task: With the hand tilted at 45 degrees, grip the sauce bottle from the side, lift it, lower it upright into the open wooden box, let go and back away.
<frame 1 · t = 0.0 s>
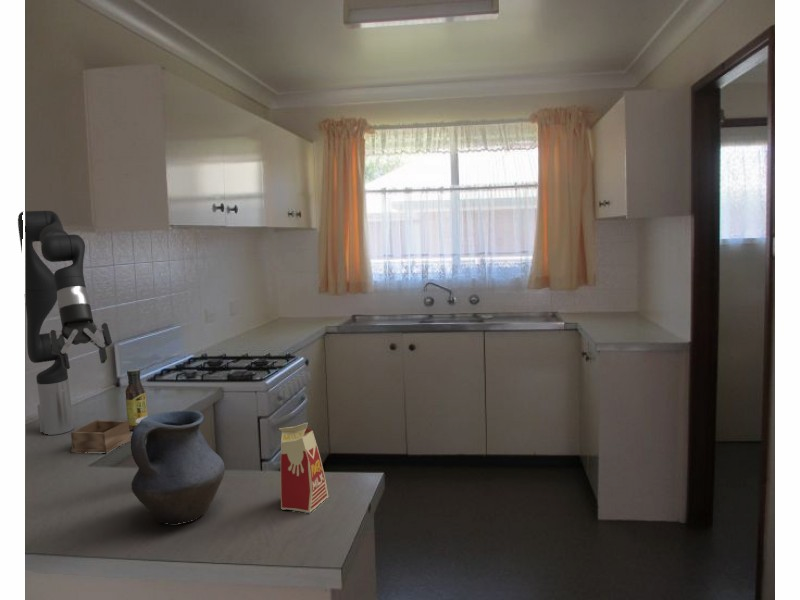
hand: (85, 365, 170), 31 cm above the worktop, tool tilted 20°, fingers open, 8 cm apart
pitcher: (181, 517, 151), on the worktop
sauce bottle: (138, 428, 218), on the worktop
chalice: (157, 487, 169), on the worktop
open wooden box: (102, 446, 202), on the worktop
milk carton: (302, 504, 155), on the worktop
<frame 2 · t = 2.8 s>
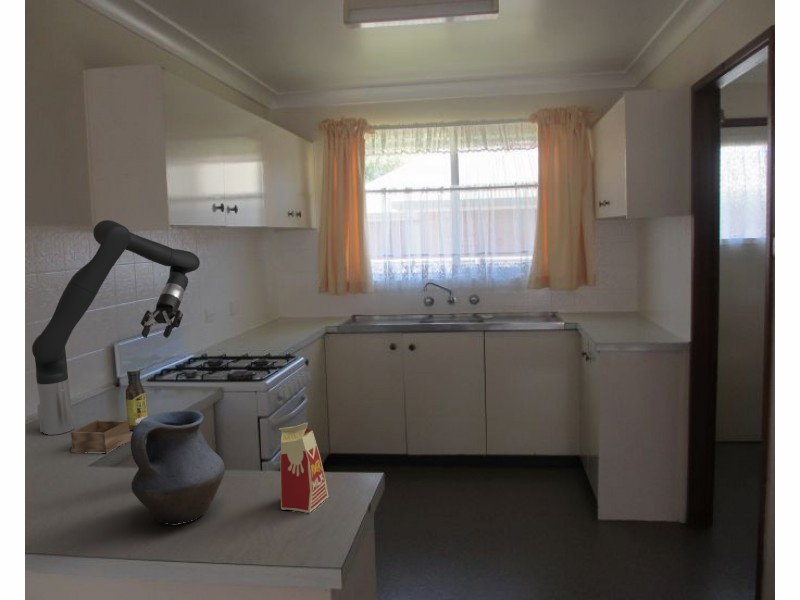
hand: (154, 336, 227), 29 cm above the worktop, tool tilted 45°, fingers open, 8 cm apart
nothing on the worktop moved.
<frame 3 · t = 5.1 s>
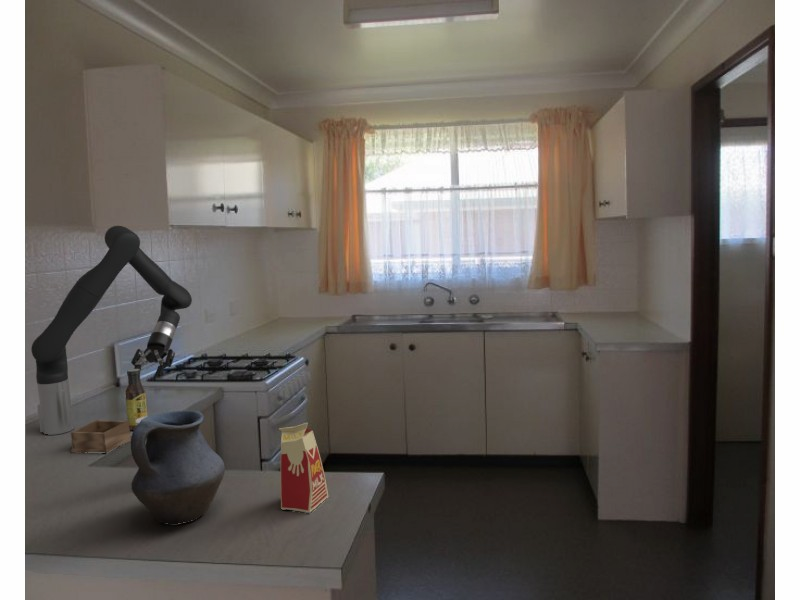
hand: (146, 376, 223), 16 cm above the worktop, tool tilted 45°, fingers open, 8 cm apart
nothing on the worktop moved.
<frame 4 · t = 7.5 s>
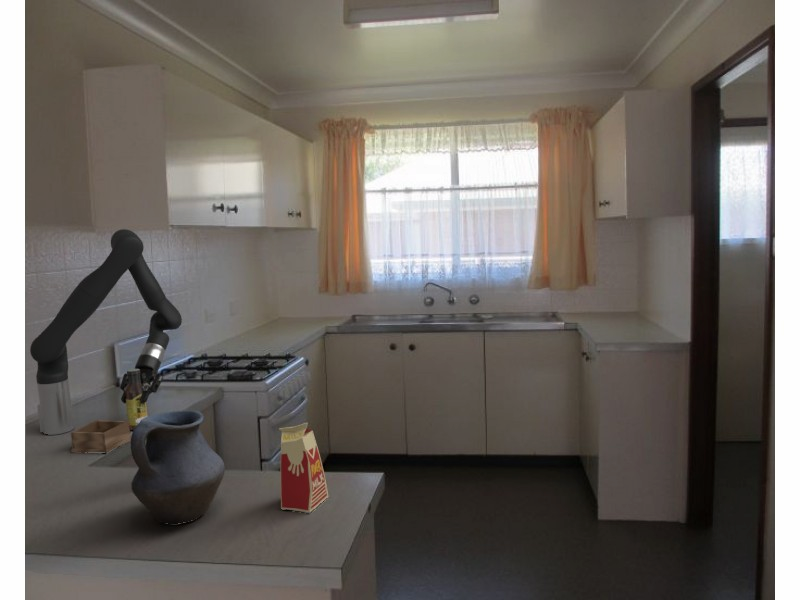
hand: (132, 402, 216), 9 cm above the worktop, tool tilted 45°, fingers closed on sauce bottle, 6 cm apart
sauce bottle: (138, 428, 218), on the worktop, touching gripper
everything else where it was.
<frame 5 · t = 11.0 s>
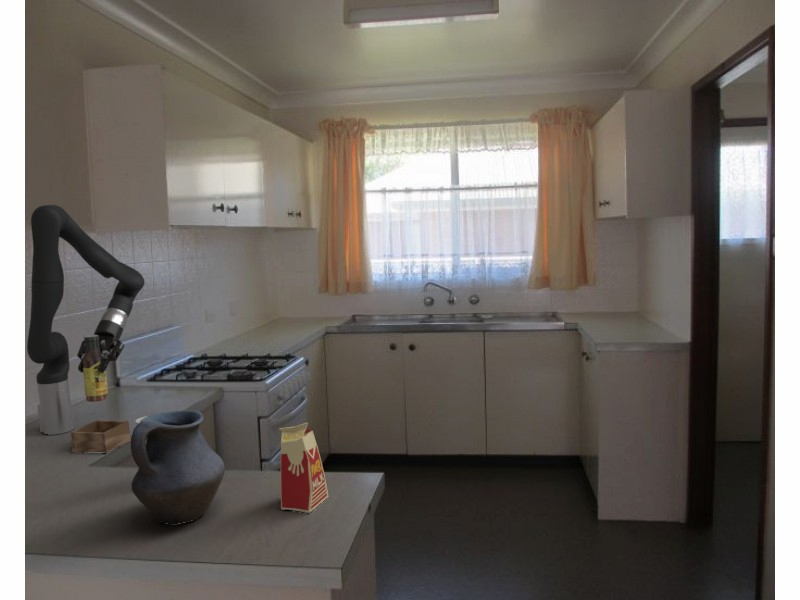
hand: (90, 371, 198), 24 cm above the worktop, tool tilted 45°, fingers closed on sauce bottle, 6 cm apart
sauce bottle: (97, 400, 201), point 15 cm above the worktop, touching gripper
everything else where it was.
when the fingers open (12 cm above the worktop, at t = 14.5 s): sauce bottle drops 1 cm, resting on open wooden box.
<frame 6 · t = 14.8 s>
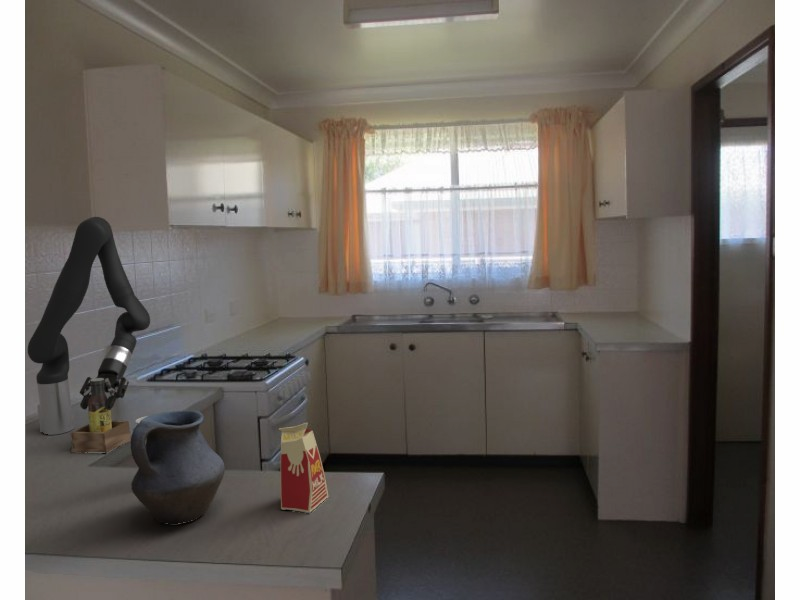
hand: (95, 408, 199), 12 cm above the worktop, tool tilted 45°, fingers open, 8 cm apart
sauce bottle: (102, 442, 202), point 1 cm above the worktop, touching open wooden box
everything else where it was.
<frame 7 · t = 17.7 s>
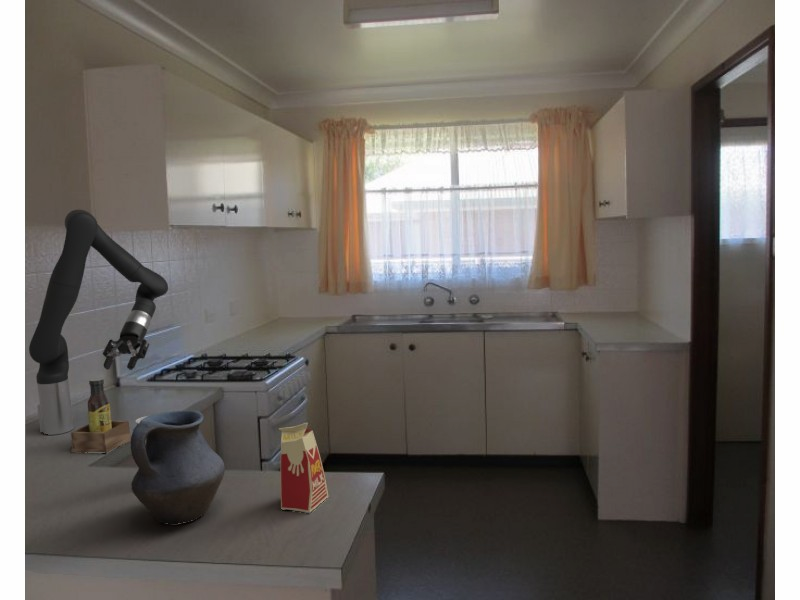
hand: (117, 368, 210), 22 cm above the worktop, tool tilted 45°, fingers open, 8 cm apart
nothing on the worktop moved.
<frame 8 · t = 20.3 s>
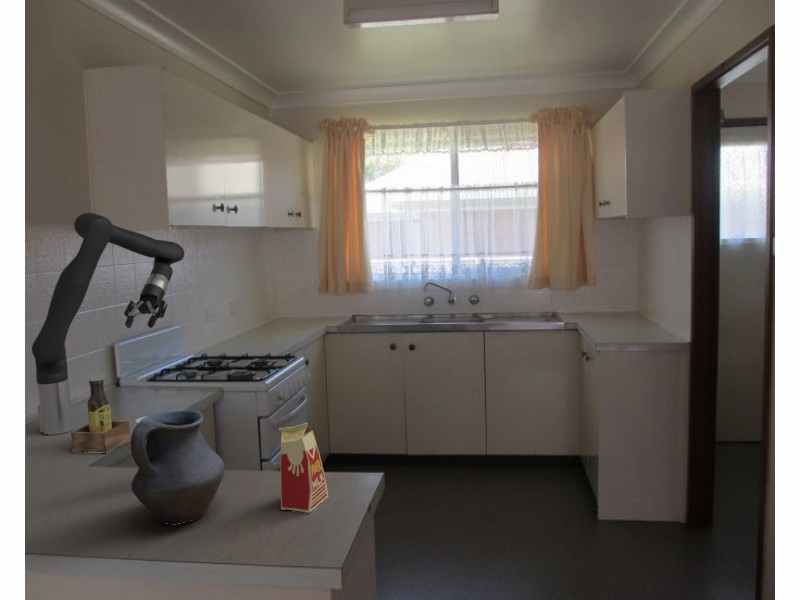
hand: (138, 326, 224), 33 cm above the worktop, tool tilted 45°, fingers open, 8 cm apart
nothing on the worktop moved.
at the end: sauce bottle 0.2 cm from the open wooden box (horizontally); sauce bottle point 1.0 cm above the worktop; sauce bottle tilted 0° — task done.
